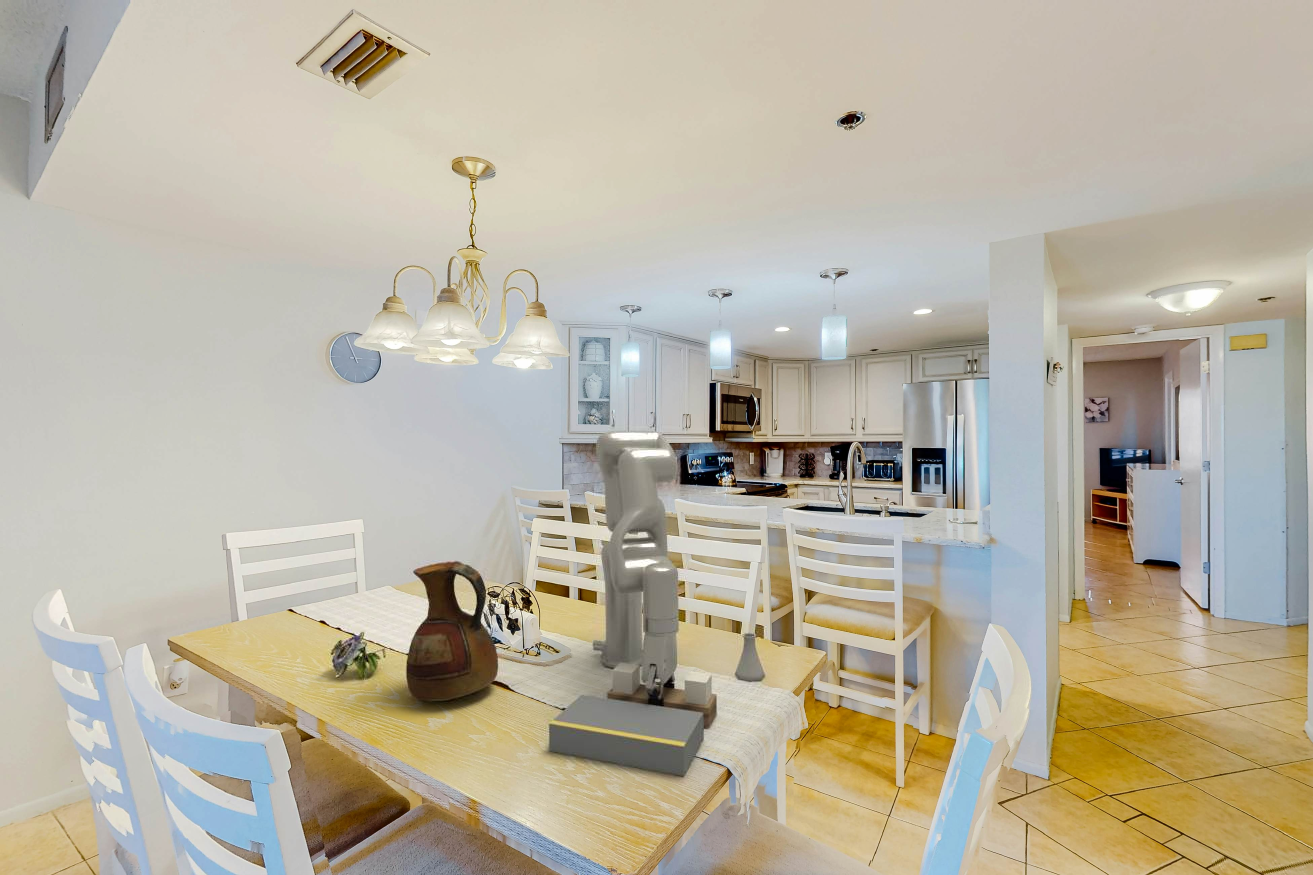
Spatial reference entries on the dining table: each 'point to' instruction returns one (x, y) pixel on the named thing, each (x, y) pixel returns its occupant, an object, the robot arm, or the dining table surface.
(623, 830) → the dining table surface
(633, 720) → the block
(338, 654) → the passion flower
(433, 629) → the ceramic pitcher
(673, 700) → the pallet
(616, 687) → the block
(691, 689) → the block
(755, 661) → the flask
